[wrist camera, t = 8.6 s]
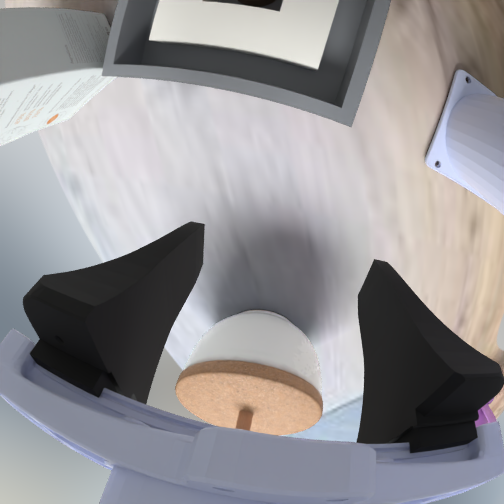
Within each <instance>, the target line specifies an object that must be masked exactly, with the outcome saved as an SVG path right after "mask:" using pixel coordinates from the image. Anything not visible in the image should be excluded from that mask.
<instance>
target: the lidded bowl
mask: <svg viewBox="0 0 504 504" xmlns="http://www.w3.org/2000/svg"><path fill="white" fill-rule="evenodd" d="M175 390H176V395H177V397H178V399H179V401H180V402H181V403H182V405H183V406H184V407H185V408H186V409H188V410H189V411H190V412H191V413H193V414H194V415H196V416H197V417H199V418H201V419H203V420H205V421H206V422H209V423H211V424H213V425H216V426H219V427H227V428H234V429H242V430H248V431H253V432H259V433H265V434H271V435H287V434H293V433H297V432H300V431H303V430H306V429H308V428H310V427H312V426H313V425H314V424H316V423H317V422H318V421H319V419H320V418H321V416H322V411H323V401H322V396H321V395H322V378H321V371H320V365H319V361H318V357H317V354H316V352H315V350H314V348H313V346H312V344H311V342H310V340H309V339H308V338H307V337H306V335H305V334H304V333H303V332H302V331H301V330H300V329H299V328H298V327H296V326H295V325H293V324H292V322H290V321H289V320H288V319H287V318H285V317H284V316H282V315H280V314H277V313H275V312H271V311H267V310H248V311H244V312H241V313H239V314H236V315H233V316H230V317H227V318H225V319H223V320H221V321H220V322H218V323H216V324H215V325H213V326H212V327H211V328H210V329H209V330H208V331H207V332H205V333H204V335H203V336H202V337H201V339H200V340H199V341H198V343H197V344H196V345H195V347H194V349H193V351H192V352H191V354H190V356H189V358H188V360H187V363H186V365H185V368H184V370H183V372H182V373H181V374H180V376H179V378H178V381H177V383H176V387H175Z"/></svg>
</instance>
